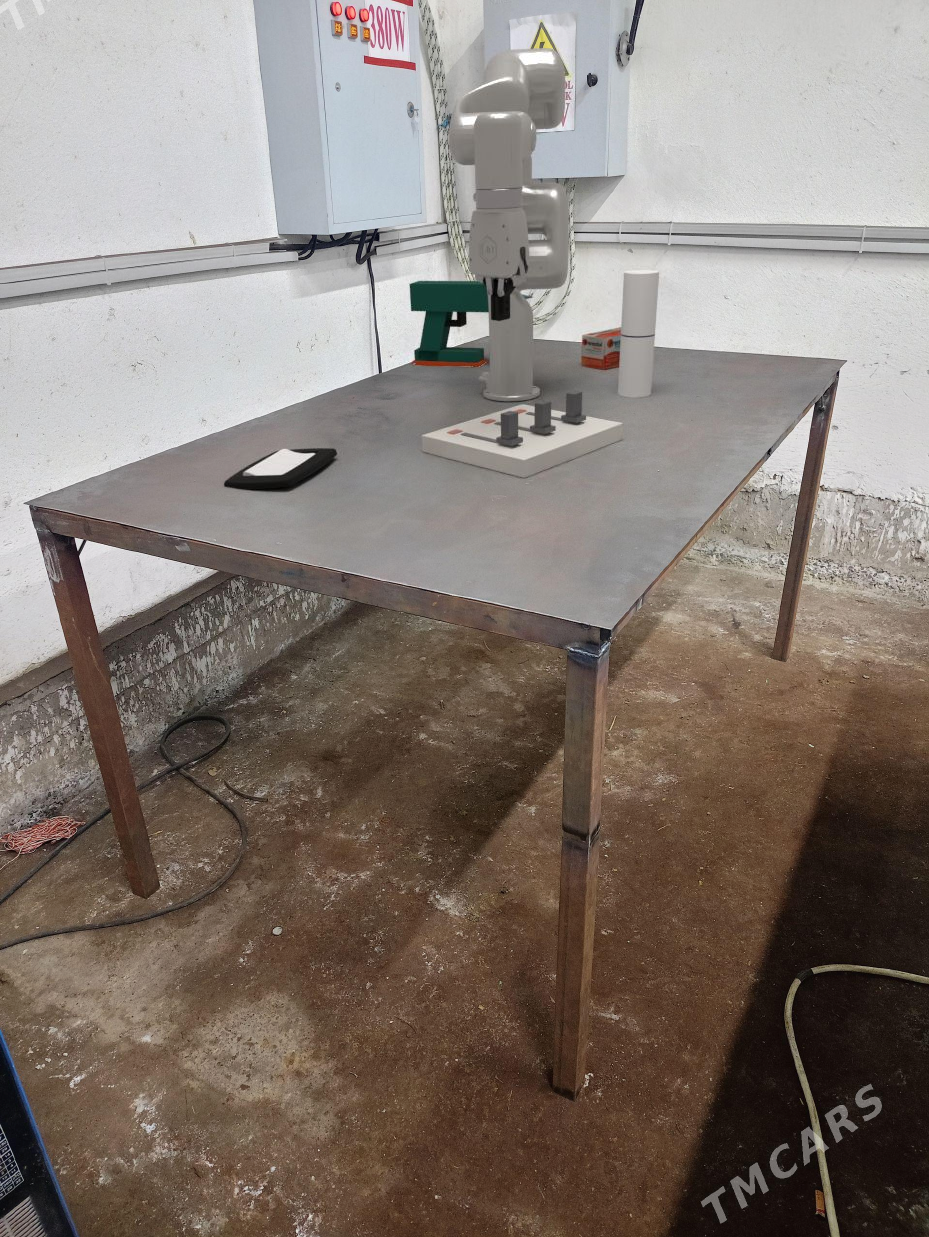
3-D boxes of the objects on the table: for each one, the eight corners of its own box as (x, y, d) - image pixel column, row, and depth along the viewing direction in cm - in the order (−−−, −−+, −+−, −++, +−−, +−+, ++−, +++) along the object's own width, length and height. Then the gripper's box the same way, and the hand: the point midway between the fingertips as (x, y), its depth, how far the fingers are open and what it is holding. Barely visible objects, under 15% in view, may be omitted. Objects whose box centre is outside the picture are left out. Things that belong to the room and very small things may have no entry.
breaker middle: (529, 430, 152) (529, 402, 149) (539, 427, 154) (539, 399, 151) (545, 434, 150) (545, 405, 147) (555, 430, 151) (556, 402, 149)
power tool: (537, 364, 220) (538, 281, 210) (530, 369, 214) (530, 284, 205) (422, 360, 229) (417, 280, 220) (412, 365, 224) (407, 283, 214)
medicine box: (619, 357, 224) (621, 326, 220) (643, 361, 219) (645, 329, 215) (579, 367, 216) (580, 334, 212) (604, 371, 210) (605, 337, 206)
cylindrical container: (614, 396, 186) (620, 273, 175) (621, 389, 192) (628, 269, 180) (647, 398, 184) (655, 273, 172) (653, 390, 190) (662, 270, 178)
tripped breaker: (496, 442, 146) (495, 413, 144) (507, 438, 148) (506, 409, 145) (512, 445, 144) (512, 416, 141) (523, 442, 146) (523, 412, 143)
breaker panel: (422, 451, 155) (421, 434, 153) (522, 419, 172) (522, 403, 171) (524, 477, 140) (524, 458, 138) (622, 439, 157) (623, 422, 156)
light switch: (273, 444, 156) (341, 441, 152) (277, 459, 158) (344, 457, 153) (213, 478, 140) (288, 476, 135) (218, 495, 141) (292, 493, 137)
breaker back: (561, 419, 157) (561, 392, 155) (570, 416, 159) (571, 389, 157) (576, 423, 155) (577, 395, 153) (586, 419, 157) (586, 392, 155)
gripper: (450, 202, 140) (454, 318, 149) (518, 203, 131) (519, 327, 140) (481, 198, 145) (484, 311, 154) (549, 200, 136) (548, 320, 145)
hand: (500, 319), depth 147 cm, fingers closed
